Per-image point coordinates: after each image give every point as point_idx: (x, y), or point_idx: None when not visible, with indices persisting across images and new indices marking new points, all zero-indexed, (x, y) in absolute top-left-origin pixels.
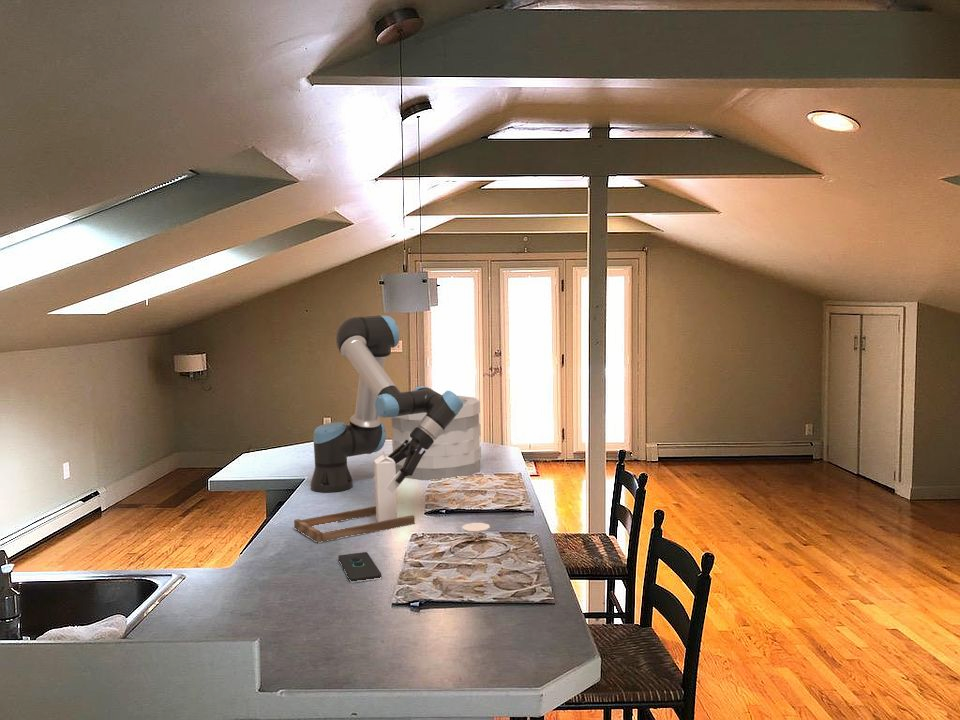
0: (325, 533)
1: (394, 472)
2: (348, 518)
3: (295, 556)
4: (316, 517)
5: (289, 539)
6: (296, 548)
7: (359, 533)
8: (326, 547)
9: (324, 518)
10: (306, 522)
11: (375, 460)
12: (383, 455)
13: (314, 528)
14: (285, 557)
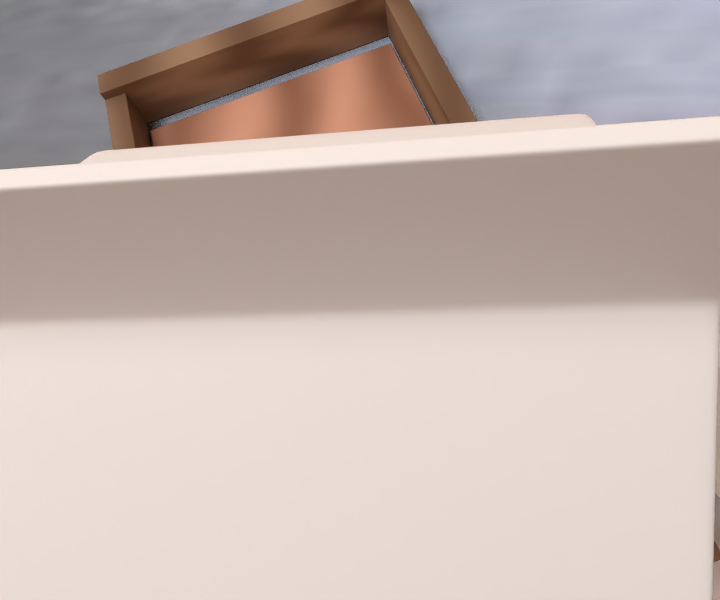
0: (109, 112)
1: None
2: None
3: (16, 51)
4: (435, 59)
5: (247, 12)
6: (110, 45)
7: None
8: (54, 146)
9: (436, 102)
10: (396, 31)
11: (476, 130)
12: (451, 281)
13: (189, 59)
14: (27, 23)
